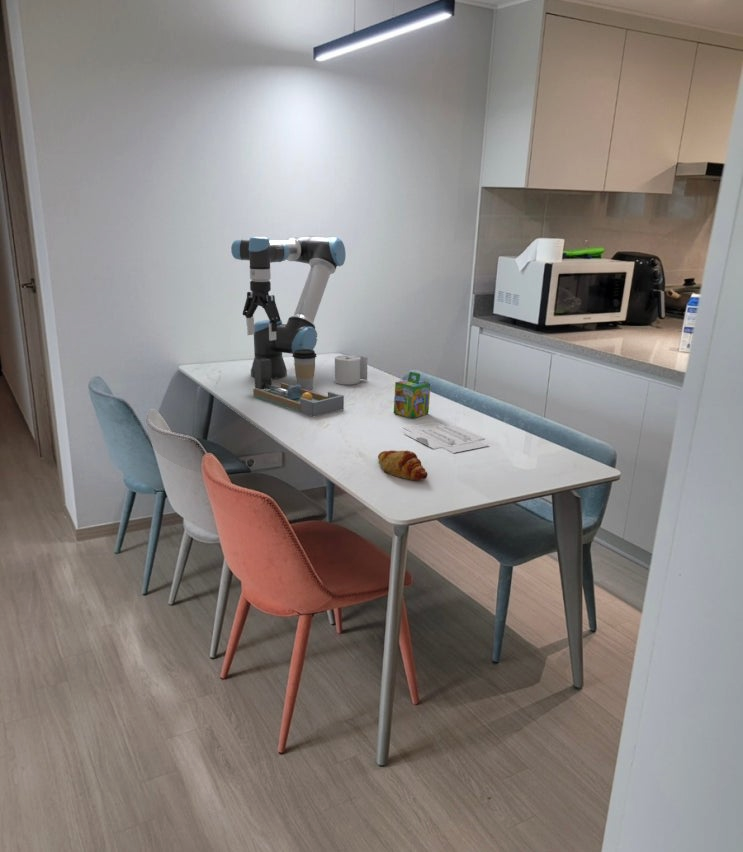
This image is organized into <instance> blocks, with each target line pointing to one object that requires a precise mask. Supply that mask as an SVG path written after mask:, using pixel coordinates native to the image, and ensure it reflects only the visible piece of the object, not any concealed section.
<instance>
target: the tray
mask: <svg viewBox="0 0 743 852" xmlns="http://www.w3.org/2000/svg"><path fill="white" fill-rule="evenodd" d="M402 429H404V430H406V431H407V432H409V433H404V435H405V436H408V437H410V438H411V439H414V440H416V441H418V442H420V443H422V444H424V445H425V446H427V447H430V448H431V449H433V450H437V449H444V450H446V451H447V452H449V453H452V454H456V453H460V452H465V451H470V450H474V449H479V448H485V447H489V445H488V444H486V443H484V442H482V441H483V440H485V439H486V438H485V437H483V436H482V435H478V434H476V433H473V432H471V431H469V430H467V429H465V428H463V427H461V426H458V425H456V424H454V425H446V424H442V423H440V422H437V421H433V422H432V421H431V422H426V423H425V422H424V423H420V424H413V425H407V426H403V427H402Z"/></svg>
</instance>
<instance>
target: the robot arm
mask: <svg viewBox="0 0 743 852" xmlns="http://www.w3.org/2000/svg"><path fill="white" fill-rule="evenodd" d="M230 248H231V254H232V257H233V258H234V260H240V261H249V279H250V282H249V285H250V286H249V289H250V291H248V292H246V300H245V303H244V306H243V310H242V316H245V319H246V326H247V328H246V330H247V331H246V332H247V333H246V334H247V336H253V346H254V347H253V348H254V349H253V350H254V351H253V352H254V353H253V354H254V358H253V361H252V363H251V364H252V365H251V369H250V376H251V377H253V378H255V374H254V360H257V359H262V358H266V359H270V360H271V380H272V379H274V380H275V379H279V378H284V377H286V376H287V375H288V372H287V371H288V369H287V366H286V363H285V361H284V358H283V353H285V354H289V355H290V354H291V355H293V353H294V351H295V350H299V349H310V350H315V347H316V345H317V341H318V338H317V337H318V332H317V330H316V326H315V323H314V322H315V319H316V316H317V313H318V310H319V308H320V305H321V302H322V300H323V296H324V293H325V291H326V287H327V285H328V282H329V279H330V276H331V275H332V274H334V273H336V270H337V267H342V266H343V265H344V264H345V261H346V246H345V243H344V242H343V241H342V239H340V238H339V237H335V236H334V237H333V236H315V235H314V236H313V235H308V236H300V237H299V236H298V237H289V238H286V239H285V240H283V239H282V240H281V239H279V240H270V238H269V237H267V236H266V237H265V236H252V237H250V238H249V239H245V240H244V239H235V240H234V241H233V242H232V244H231V247H230ZM284 261H288V262H296V263H297V262H298V263H303V264H308V265H309V266H310V269H309V272H308V274H307V278H306V280H305V282H304V283H305V284H304V285H303V288H302V291H301V294H300V297H299V299H298V302H297V304H296V308H295V310H294V314H293V315H292V316H289V317H288V320H287V322H286V324H284V323H283V321H282V319H281V316H280V313H279V309H278V307H277V304H276V299H275V295H274V294H270V293H269V292H271V289H272V286H271V284H272V283H271V281H270V280H271V278H272V277H271V275H272V274H271V264H272V263H281V262H284ZM259 306H260V307H261V308H262V309H263V310H264V312H265V314H266V315H267V318H268V319H264V320H259V321H256V322H255V316H254V315H255V313H256V310H257V309H258V307H259Z"/></svg>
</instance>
